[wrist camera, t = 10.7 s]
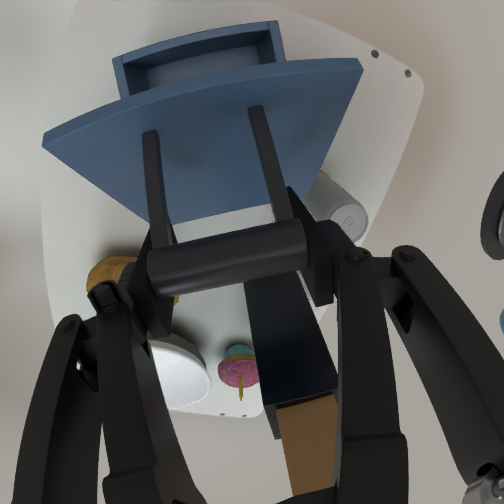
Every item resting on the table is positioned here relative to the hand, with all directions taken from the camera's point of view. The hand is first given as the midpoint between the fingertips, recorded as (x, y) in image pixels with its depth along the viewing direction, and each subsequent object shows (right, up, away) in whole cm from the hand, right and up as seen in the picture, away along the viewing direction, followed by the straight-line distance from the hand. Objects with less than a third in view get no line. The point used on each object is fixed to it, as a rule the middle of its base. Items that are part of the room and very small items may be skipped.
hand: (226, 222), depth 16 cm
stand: (+5, -9, +31) cm, 33 cm away
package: (+8, -20, +12) cm, 25 cm away
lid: (-1, +4, +3) cm, 5 cm away
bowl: (-16, -19, +35) cm, 43 cm away
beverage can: (+10, +7, +22) cm, 25 cm away
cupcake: (-1, -20, +37) cm, 43 cm away
